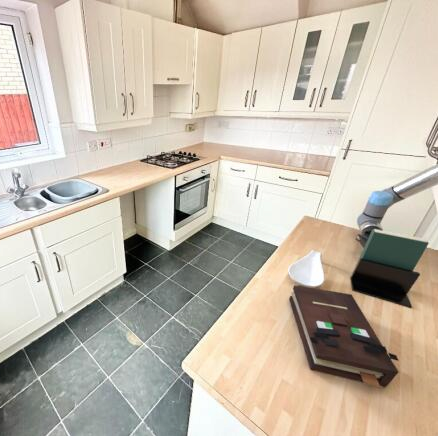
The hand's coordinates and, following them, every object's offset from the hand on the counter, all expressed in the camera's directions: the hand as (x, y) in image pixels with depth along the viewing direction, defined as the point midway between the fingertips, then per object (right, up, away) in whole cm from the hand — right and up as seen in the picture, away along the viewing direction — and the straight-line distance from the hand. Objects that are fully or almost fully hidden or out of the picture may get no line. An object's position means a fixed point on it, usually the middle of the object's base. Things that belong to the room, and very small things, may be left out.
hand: (383, 262), depth 91 cm
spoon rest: (-24, -6, +7) cm, 26 cm away
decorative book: (-33, -19, -17) cm, 42 cm away
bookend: (-4, -11, -3) cm, 12 cm away
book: (0, +2, -1) cm, 2 cm away
